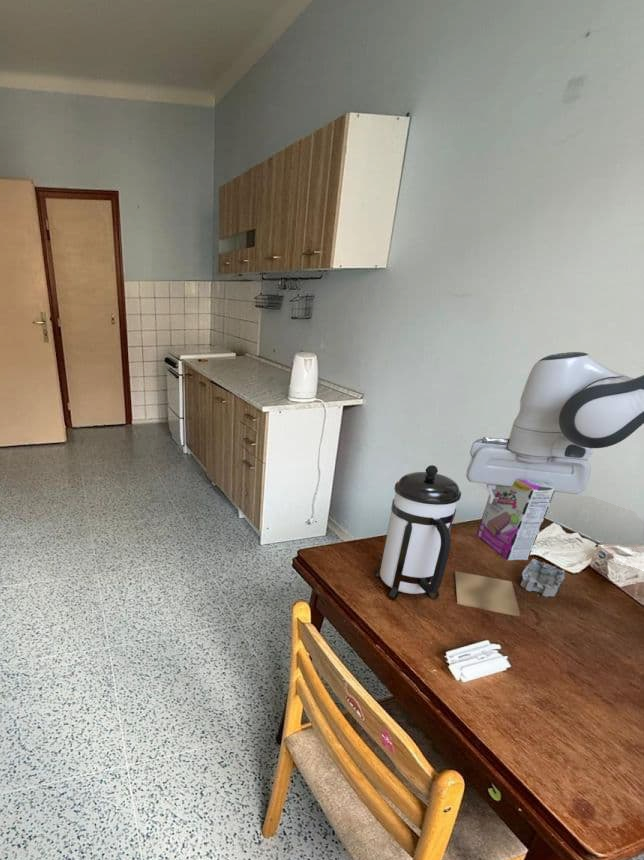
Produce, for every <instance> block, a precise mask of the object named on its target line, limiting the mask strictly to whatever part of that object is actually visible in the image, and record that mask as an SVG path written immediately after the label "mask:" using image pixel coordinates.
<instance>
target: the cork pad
mask: <svg viewBox="0 0 644 860" xmlns="http://www.w3.org/2000/svg"><path fill="white" fill-rule="evenodd" d="M454 583H455V584H454V585H455V596H456V599H455V600H456V605H460V606H465V607H470V608H474V609H480V610H483V611H484V610H485V611H489V612H494V613H498V614H503V615H508V616H513V617H518V618H520V617H521V613H520V612H521V611H520V609H519V608H520V607H519V605H518V600H517V597H516V593H515V589H514V585H513V581H512V580H507V579H506V580H505V579H501V578H494V577H491V576H485V575H479V574H473V573H467V572H462V571H457V570H455V571H454Z"/></svg>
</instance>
